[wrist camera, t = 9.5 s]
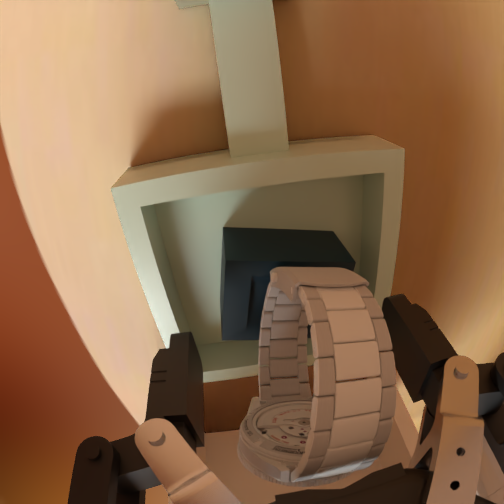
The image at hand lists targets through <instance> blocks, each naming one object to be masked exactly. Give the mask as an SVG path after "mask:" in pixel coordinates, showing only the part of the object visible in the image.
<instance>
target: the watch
mask: <svg viewBox="0 0 504 504" xmlns="http://www.w3.org/2000/svg"><path fill="white" fill-rule="evenodd" d="M355 264H356V262H355V260H354V259H353V258H352V256H351V255H350V253H349V252H348V251H347V249H346V248H345V247H344V245H343V244H342V242H341V241H340V240H339V238H338V237H337V236H336V234H335V233H334V232H333V231H323V230H298V229H271V228H239V227H223V236H222V257H221V281H220V314H221V332H222V341H232V340H259V356H258V365H268V366H259V373H258V380H259V397H252V399H251V403H250V406H249V409H248V412H247V415H246V416H245V418H244V419H243V421H242V423H241V425H240V431H239V441H238V445H237V453H238V457H239V460H240V462H242V464H243V466H245V468H246V469H248V470H249V471H251V473H253V474H255V475H256V476H258V477H260V478H262V479H264V480H267V481H270V482H272V483H277V484H281V485H286V486H293V487H295V486H297V487H311V486H319V485H326V484H330V483H333V482H336V481H339V480H340V479H343V478H345V477H347V476H348V475H351V474H352V473H353V472H355V471H357V470H362V469H365V468H367V467H370V466H371V465H372V464H373V462H374V460H376V459H377V458H378V457H379V455H380V454H381V452H382V451H383V449H384V447H385V443H387V441H388V438H389V435H390V432H391V428H392V424H393V419H392V417H394V416H395V409H396V397H397V388H396V386H393V385H395V384H396V369H395V360H394V354H393V352H392V351H390V350H392V343H391V338H390V334H389V331H388V327H387V324H386V321H385V319H382V318H383V312H382V310H381V308H380V306H379V304H378V302H377V301H376V299H375V298H373V294H372V293H371V292H370V290H369V289H368V288H367V286H368V285H369V282H368V281H367V280H366V279H364V278H363V277H361V276H360V275H358V274H356V273H355V272H353V271H354V268H355ZM307 338H311V340H312V348H313V356H314V358H321V359H317V360H315V362H314V393H313V396H312V395H311V390H310V385H309V383H307V382H309V376H308V367H307V364H301V363H307V347H306V345H303V344H307ZM268 346H269V347H268ZM385 351H388V352H385ZM379 352H380V353H379ZM288 357H296V358H288ZM328 357H330V358H328ZM269 358H283V359H269ZM298 364H300V365H298ZM372 376H376V377H375V378H368V379H361V380H354V381H346V382H338V383H335V381H343V380H351V379H358V378H365V377H372ZM286 377H297V378H286ZM270 378H282V379H270ZM262 385H267V386H262Z"/></svg>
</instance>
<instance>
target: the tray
mask: <svg viewBox="0 0 504 504" xmlns="http://www.w3.org/2000/svg"><path fill="white" fill-rule="evenodd" d="M175 2H176V4H177V6H178V8H179V9H182V8H188V7H194V6H200V5H207V4H209V9H210V16H211V24H212V31H213V38H214V46H215V53H216V60H217V68H218V75H219V82H220V89H221V96H222V103H223V110H224V118H225V125H226V132H227V139H228V146H229V149H225V150H219V151H212V152H206V153H200V154H195V155H189V156H184V157H178V158H173V159H168V160H163V161H158V162H153V163H148V164H144V165H139V166H135V167H130V168H128V169H127V170H126V171H125V173H124V174H123V175H122V176H121V177H120V178H119V179H118V180H117V182H116V183H115V184H114V185H113V186H112V187H111V191H112V195H113V198H114V202H115V205H116V209H117V212H118V216H119V219H120V222H121V226H122V229H123V232H124V235H125V238H126V241H127V245H128V248H129V251H130V254H131V257H132V260H133V263H134V266H135V268H136V271H137V274H138V277H139V280H140V283H141V285H142V288H143V291H144V294H145V296H146V299H147V302H148V304H149V307H150V309H151V312H152V315H153V317H154V320H155V322H156V325H157V327H158V330H159V332H160V335H161V337H162V339H163V342H164V344H165V347H166V348H169V344H170V336H171V334H174V333H183V332H192V334H193V337H194V340H195V343H196V346H197V349H198V352H199V355H200V358H201V362H202V368H203V383H205V382H214V381H222V380H230V379H237V378H244V377H251V376H257V375H258V373H259V366H268V365H258V356H259V340H232V341H222V332H221V314H220V281H221V257H222V236H223V227H239V228H271V229H298V230H323V231H333V232H334V233H335V234H336V236H337V237H338V238H339V240H340V241H341V242H342V244H343V245H344V247H345V248H346V249H347V251H348V252H349V253H350V255H351V256H352V258H353V259H354V260H355V262H356V264H355V268H354V271H353V272H355V273H356V274H358V275H360V276H361V277H363V278H364V279H366V280H367V281H368V282H369V285H368V286H367V288H368V289H369V290H370V292H371V293H372V294H373V298H375V299H376V301H377V302H378V304H379V306H380V308H381V310H382V304H383V300H384V298H386V297H390V296H391V290H392V283H393V277H394V270H395V263H396V256H397V248H398V240H399V231H400V221H401V210H402V198H403V182H404V161H405V148H402V147H400V146H398V145H396V144H394V143H391V142H389V141H387V140H385V139H382V138H380V137H378V136H375V135H362V136H345V137H330V138H318V139H306V140H296V141H288V133H287V122H286V112H285V102H284V92H283V83H282V74H281V65H280V57H279V48H278V40H277V33H276V25H275V17H274V10H273V3H272V0H175ZM303 345H306V347H307V363H301V364H307V366H312V365H314V362H315V360H317V359H321V358H314V356H313V348H312V340H311V338H307V344H303ZM268 347H269V346H268ZM288 358H296V357H288ZM328 358H330V357H328ZM269 359H283V358H269ZM298 365H300V364H298Z"/></svg>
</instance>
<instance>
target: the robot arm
mask: <svg viewBox="0 0 504 504" xmlns="http://www.w3.org/2000/svg"><path fill="white" fill-rule="evenodd" d="M382 312H383V318H382V319H385V321H386V324H387V327H388V331H389V334H390V338H391V343H392V350H390V351H392V352H393V354H394V360H395V367H396V369H397V371H398V373H399V375H400V377H401V379H402V381H403V383H404V385H405V387H406V389H407V391H408V393H409V395H410V397H411V399H412V401H413V403H414V402H417V401H420V400H424V402H425V404H426V405H425V407H424V409H423V415H422V420H421V426H420V431H419V435H418V440H417V445H416V449H415V452H414V454H413V456H412V458H411V461H410V463H409V466H408V468H403V466H402V463H398V464H395V465H392V466H390V467H387V468H384V469H381V470H378V471H375V472H372V473H370V474H369V475H367V476H365V477H363V478H362V479H360V480H358V481H356V482H355V483H353V484H351V485H349V486H347V487H345V488H342V489H306V490H301V491H296V492H291V493H285V494H279V495H275V500H276V501H274V502H271V503H269V504H504V353H501V354H500V355H499V356H498V357H497V359H496V361H495V362H494V363H486V364H476V363H475V362H474V361H473V360H471V359H470V358H468V357H466V356H460V355H459V356H458V354H457V353H456V351H455V350H454V349H453V347H452V346H451V344H450V343H449V341H448V340H447V339H446V337H445V336H444V334H443V333H442V331H441V330H440V329H438V326H437V325H436V323H435V322H434V321H433V319H432V318H431V316H430V315H429V314H428V312H427V311H426V310H425V309H423V308H422V307H420V306H419V305H417V304H412V305H411V303H410V302H409V300H408V299H407V298H406V296H405V295H404V294H398V295H394V296H390V297H386V298H384V300H383V304H382ZM387 352H388V351H387ZM151 372H152V374H151V378H150V385H149V393H148V402H147V411H146V418H145V421H144V423H142V424H141V425H140V426H139V428H138V429H137V431H136V433H135V434H133V435H131V436H128V437H125V438H122V439H119V440H115V441H112V442H109V441H108V440H107V439H105V438H103V437H100V436H93V437H90V438H87V439H85V440H84V441H83V442H82V443H81V444H80V446H79V447H78V449H77V453H76V458H75V464H74V468H73V474H72V479H71V485H70V492H69V498H68V504H145V493H146V491H145V490H146V489H148V488H152V487H155V486H158V485H161V484H162V485H163V487H164V488H165V489H166V491H167V492H168V496H169V498H170V500H171V501H172V503H173V504H242V503H241V502H240V501H239V500H238V499H237V498H236V497H235V496H234V495H233V494H232V493H231V492H230V491H229V489H228V488H227V487H226V486H225V485H224V484H223V483H222V482H221V481H220V480H219V479H218V477H217V476H216V475H215V474H214V473H213V472H212V471H211V470H210V469H208V467H207V466H206V465H205V464H204V463H203V462H202V461H201V459H200V458H199V457H198V456H197V454H196V447H205V442H204V405H203V368H202V362H201V358H200V355H199V352H198V349H197V346H196V343H195V340H194V337H193V334H192V332H183V333H174V334H171V336H170V344H169V348H166V349H159V351H158V353H157V354H156V356H155V357H154V359H153V363H152V370H151Z"/></svg>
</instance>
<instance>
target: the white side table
mask: <svg viewBox="0 0 504 504" xmlns="http://www.w3.org/2000/svg"><path fill="white" fill-rule="evenodd" d="M375 377H376V376H372V377H366V379H368V378H375ZM393 386H396V385H393ZM396 388H397V387H396ZM392 419H393V424H392V428H391V432H390V435H389V438H388V441H387V443H385V447H384V449H383V451H382V452H381V454H380V455H379V457H378V458H377V459H376V460H374V462H373V464H372V465H371V466H370V467H367V468H365V469H362V470H357V471H355V472H353V473H352V474H351V475H348V476H347V477H345V478H343V479H340V480H339V481H336V482H333V483H330V484H326V485H319V486H311V487H297V486H295V487H293V486H286V485H281V484H277V483H272V482H270V481H267V480H264V479H262V478H260V477H258V476H256V475H255V474H253V473H251V471H249V470H248V469H246V468H245V466H243V464H242V462H240V460H239V457H238V453H237V445H238V441H239V431H240V430H232V431H223V432H214V433H205V432H204V442H205V447H196V454H197V456H198V457H199V458H200V459H201V461H202V462H203V463H204V464H205V465H206V466H207V467H208V469H210V470H211V471H212V472H213V473H214V474H215V475H216V476H217V477H218V479H219V480H220V481H221V482H222V483H223V484H224V485H225V486H226V487H227V488H228V489H229V491H230V492H231V493H232V494H233V495H234V496H235V497H236V498H237V499H238V500H239V501H240V502H241V503H242V504H269V503H271V502H274V501H276V500H275V495H279V494H285V493H291V492H296V491H301V490H306V489H342V488H345V487H347V486H349V485H351V484H353V483H355V482H356V481H358V480H360V479H362V478H363V477H365V476H367V475H369V474H370V473H372V472H375V471H378V470H381V469H384V468H387V467H390V466H392V465H395V464H398V463H402V466H403V468H408V466H409V463H410V461H411V458H412V456H413V454H414V452H415V449H416V445H417V440H418V435H419V434H418V432H417V429H416V427H415V425H414V423H413V421H412V419H411V417H410V414H409V412H408V410H407V408H406V406H405V404H404V402H403V400H402V398H401V396H400V394H399V391H398V389H397V397H396V409H395V416H394V417H392ZM169 504H173V503H172V501H171V500H170V498H169Z"/></svg>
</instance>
